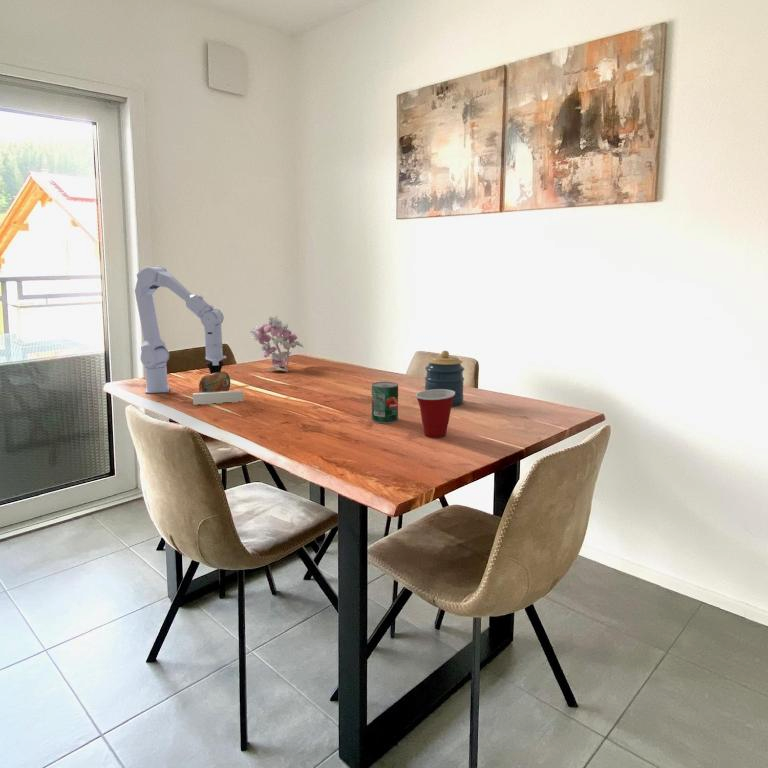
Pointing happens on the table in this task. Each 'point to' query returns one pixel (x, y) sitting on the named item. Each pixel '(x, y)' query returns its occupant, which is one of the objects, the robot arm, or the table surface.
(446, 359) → the canister
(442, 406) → the plastic cup
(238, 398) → the board
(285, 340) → the flower
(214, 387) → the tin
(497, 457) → the table surface
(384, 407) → the canned tomato
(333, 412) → the table surface
